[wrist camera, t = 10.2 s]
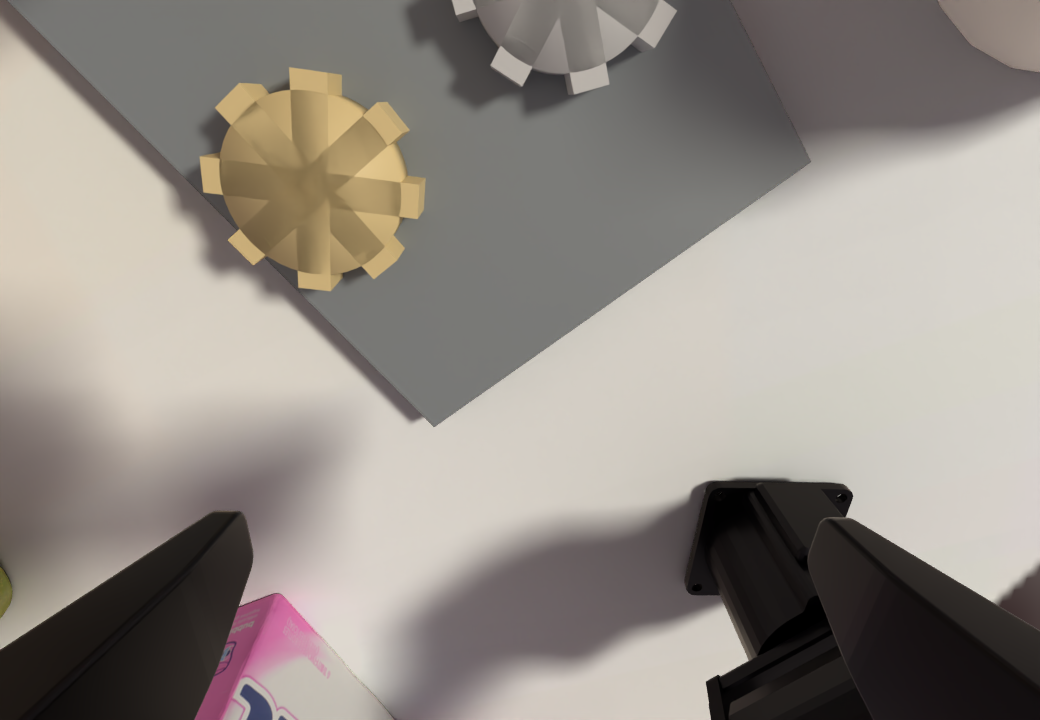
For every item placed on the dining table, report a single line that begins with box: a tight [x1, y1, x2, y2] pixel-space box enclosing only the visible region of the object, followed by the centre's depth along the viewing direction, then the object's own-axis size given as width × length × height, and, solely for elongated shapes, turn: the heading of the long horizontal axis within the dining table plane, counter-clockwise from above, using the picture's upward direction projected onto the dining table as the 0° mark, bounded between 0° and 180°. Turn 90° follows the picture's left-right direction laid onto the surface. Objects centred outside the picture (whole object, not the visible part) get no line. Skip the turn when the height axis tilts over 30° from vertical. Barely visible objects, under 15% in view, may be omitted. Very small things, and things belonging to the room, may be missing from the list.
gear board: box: [7, 0, 811, 427], centre depth 15 cm, size 23×16×3 cm
